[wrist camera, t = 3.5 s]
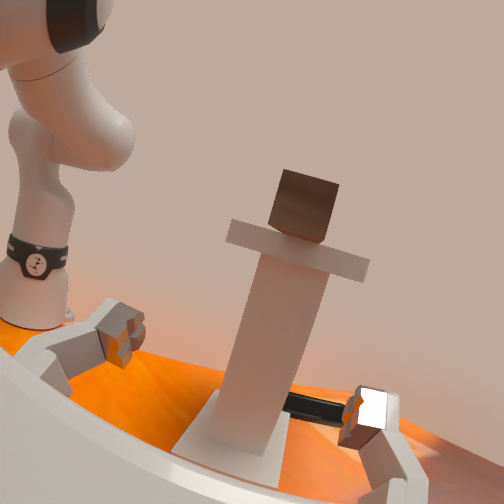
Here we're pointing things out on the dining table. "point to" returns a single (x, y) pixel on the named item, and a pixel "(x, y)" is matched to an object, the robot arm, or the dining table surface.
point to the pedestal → (264, 356)
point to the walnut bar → (303, 206)
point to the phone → (314, 410)
